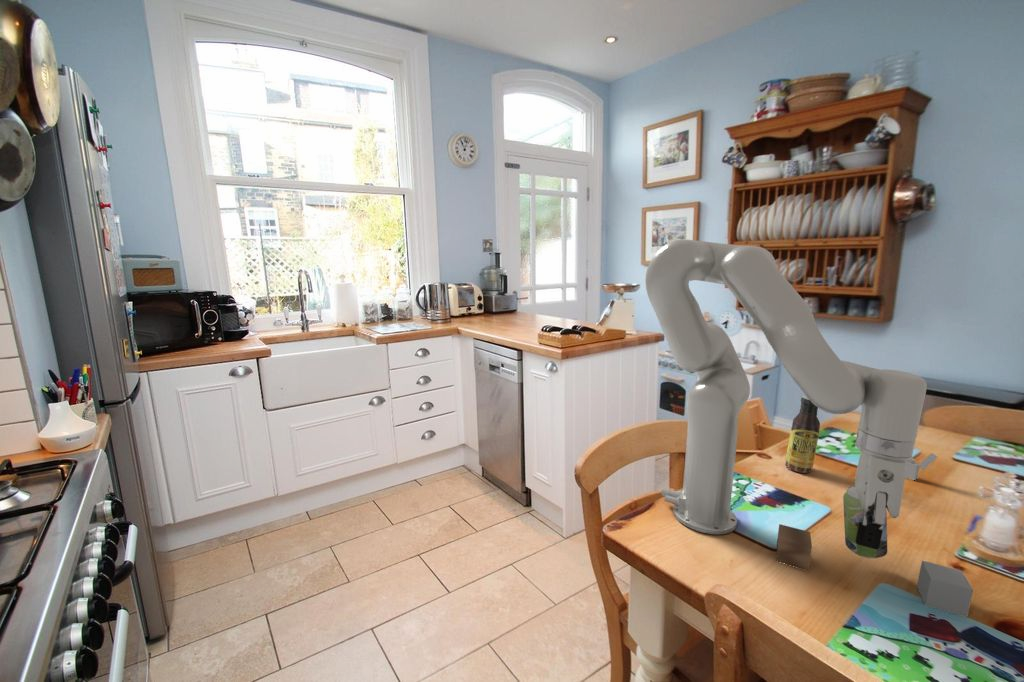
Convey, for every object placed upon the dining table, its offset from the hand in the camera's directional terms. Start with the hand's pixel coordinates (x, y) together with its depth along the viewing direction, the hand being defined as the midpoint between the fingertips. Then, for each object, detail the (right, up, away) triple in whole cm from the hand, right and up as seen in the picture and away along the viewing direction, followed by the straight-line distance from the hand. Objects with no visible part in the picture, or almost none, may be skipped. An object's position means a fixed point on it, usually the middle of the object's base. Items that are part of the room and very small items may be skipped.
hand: (864, 538), depth 80 cm
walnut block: (-10, -6, +5) cm, 13 cm away
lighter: (+39, 0, +35) cm, 52 cm away
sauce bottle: (+14, +1, +40) cm, 42 cm away
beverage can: (+1, -3, +2) cm, 4 cm away
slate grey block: (+8, -8, -6) cm, 13 cm away
